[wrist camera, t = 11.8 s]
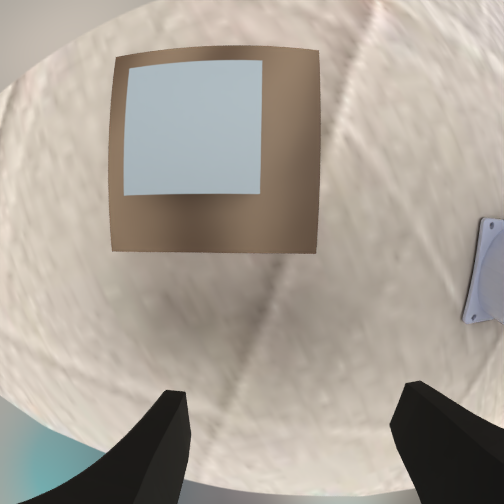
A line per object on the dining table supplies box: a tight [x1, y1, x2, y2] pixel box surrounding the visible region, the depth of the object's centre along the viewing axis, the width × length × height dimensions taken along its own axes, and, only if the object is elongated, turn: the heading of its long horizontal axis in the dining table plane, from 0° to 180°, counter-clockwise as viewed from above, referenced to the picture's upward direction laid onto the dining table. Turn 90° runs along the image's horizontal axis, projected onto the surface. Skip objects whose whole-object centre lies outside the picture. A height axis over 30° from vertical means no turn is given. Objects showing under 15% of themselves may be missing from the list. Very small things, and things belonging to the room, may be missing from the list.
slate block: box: [124, 60, 262, 196], centre depth 11 cm, size 4×4×6 cm
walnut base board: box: [108, 46, 321, 254], centre depth 15 cm, size 11×11×1 cm
